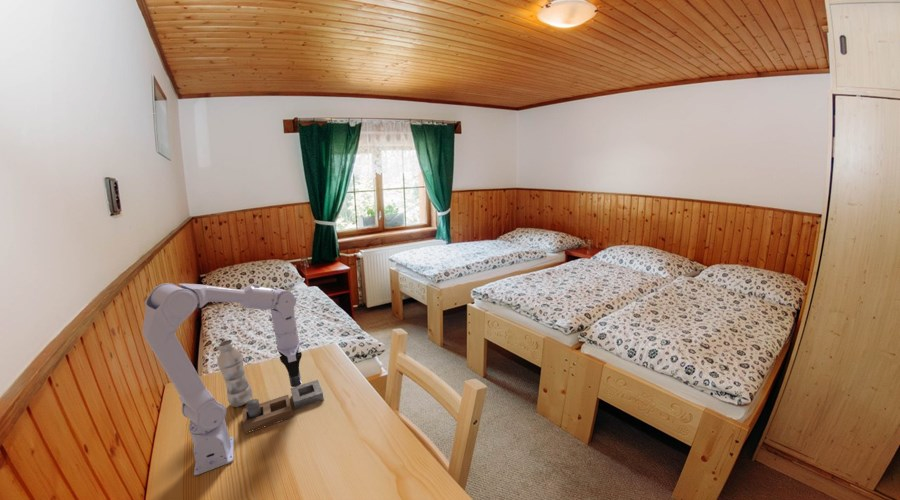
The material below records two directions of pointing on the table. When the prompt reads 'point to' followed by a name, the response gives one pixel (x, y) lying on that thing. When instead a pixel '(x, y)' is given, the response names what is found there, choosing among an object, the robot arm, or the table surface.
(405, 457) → the table surface
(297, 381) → the shiny steel cylinder
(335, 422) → the table surface
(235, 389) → the plastic bottle
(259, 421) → the rack
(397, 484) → the table surface
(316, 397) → the socket block
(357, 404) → the table surface
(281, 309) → the robot arm
